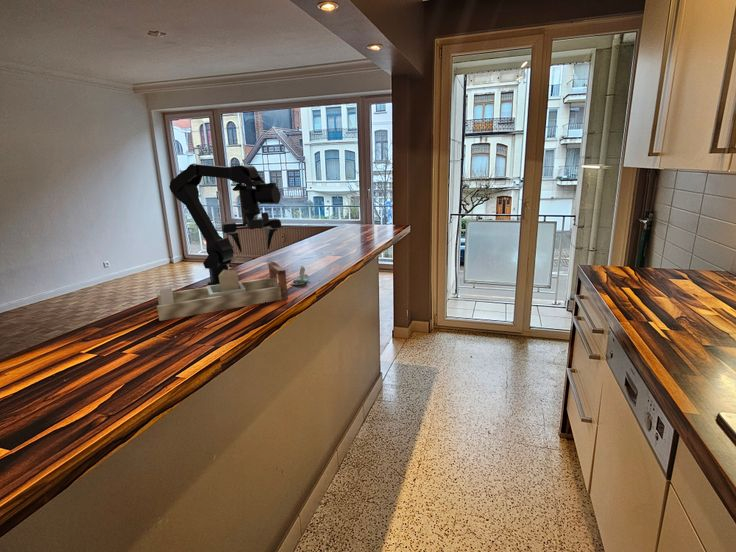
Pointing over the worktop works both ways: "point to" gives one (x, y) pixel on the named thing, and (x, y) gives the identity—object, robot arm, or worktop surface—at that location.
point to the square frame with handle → (211, 291)
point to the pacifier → (301, 277)
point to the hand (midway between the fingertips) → (254, 250)
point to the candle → (228, 280)
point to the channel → (226, 296)
